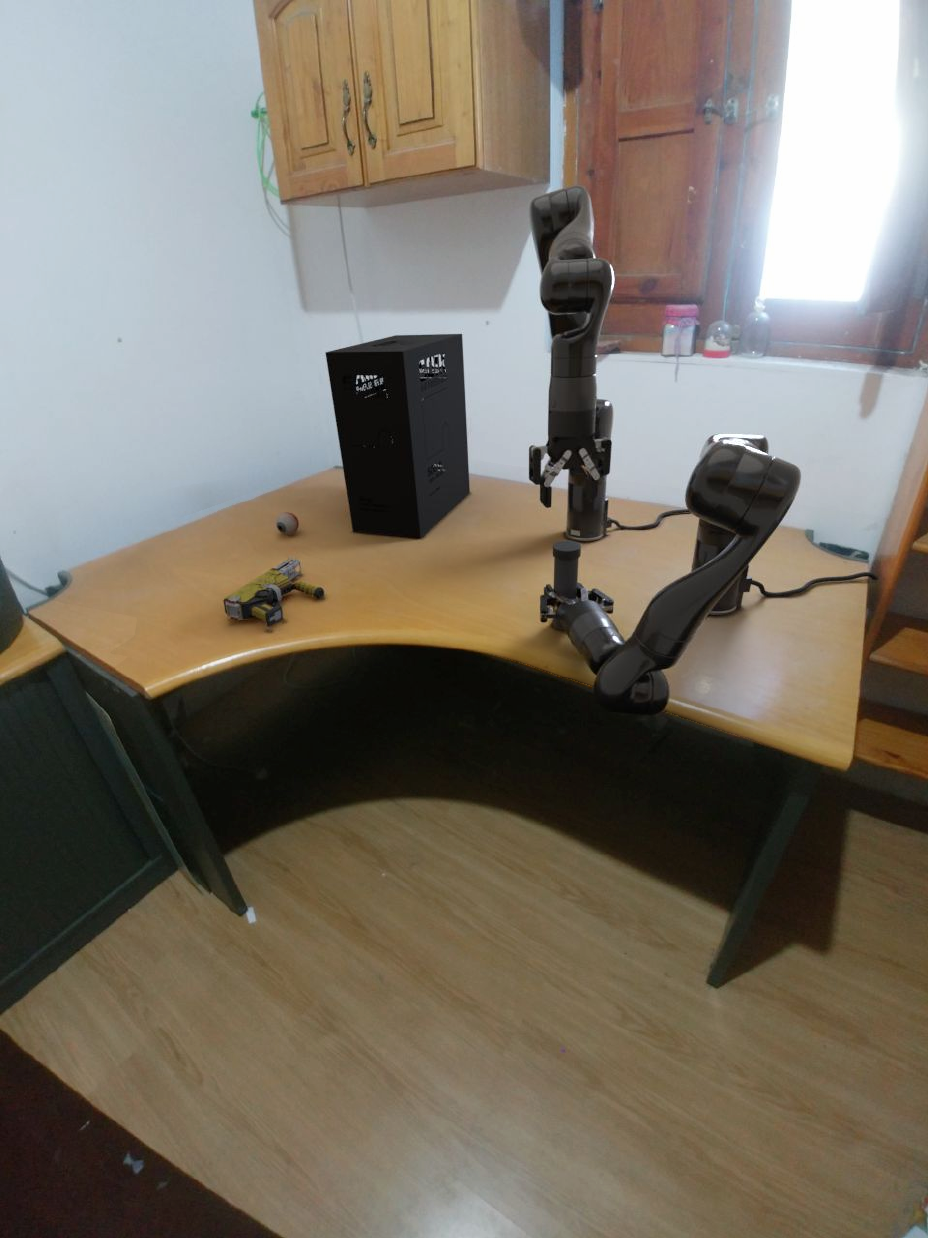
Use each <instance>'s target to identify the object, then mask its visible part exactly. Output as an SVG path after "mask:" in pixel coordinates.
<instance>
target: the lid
mask: <svg viewBox="0 0 928 1238" xmlns="http://www.w3.org/2000/svg"><path fill="white" fill-rule="evenodd" d="M581 556H582V545H581V543H580V542H579V541H576V540H572V539H563V540H558V541H555V542H553V544H552V557H553V558H554V557H555V558H556V559H559V560H574V559H577V558H580V557H581Z"/></svg>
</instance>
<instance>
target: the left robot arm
mask: <svg viewBox="0 0 928 1238" xmlns="http://www.w3.org/2000/svg"><path fill="white" fill-rule="evenodd" d="M528 214H529V215H528V217H529V225H530V231H531V236H532V237H531V238H532V241H533V245H534V250H535V254H536V259H537V263H538V264H537V265H538V269H539V273H540V277H541V278H540V280H539V281H540V282H539V298H540V303H541V305H542V307H543V308H544V310H545V311H546V312H547V319H548V325H549V334H550V340H551V343H550V344H551V345H550V376H549V377H550V378H549V385H548V400H547V402H548V404H547V442H546V444H545V445H539V446H536V445H534V444H533V445H532V444H531V445H530V446H529V447H528V480H529V481H530V482H532V483H533V484H534V485H535V486H539V501H540V503H541V504H542V505H543V507H545V508H546V509H550V508H552V492H553V487H552V486H551V484H552V483H553V481H555V478H556V477H557V476H559V475H560V473H561V471H562V470H563V471H565V470H568V473H567V501H566V502H567V503H566V527H565V536H566V537H567V538H568V539H569V540H571V541H576V542H583V543H584V542H586V543H587V542H594V541H599V540H600V539H602V538H604V536H607V530H608V529H610V528H613V527H612V526H613V524H614V525H615V526H616V527H617V528H619V529H622V530H629V531H631V530H635V531H637V530H638V531H639V530H646V529H650V528H655V527H656V526H659V524H660V523H661V522H662V518H663V517H665V516H669V515H673V514H683V513H691V512H690V511H689V510H688V508H685V509H683V508H682V509H673V510H667V511H664V512H662V513H660V514H659V515H658V517H657V519H656V521H655V522H653V523H650V524H645V525H639V526H638V525H637V526H627V525H623V524H621V523H620V522H619V521H618V520H616V519H613V518H612V517H609V516H608V514H609V498H607V497H606V493H607V477H608V475H609V474H610V472H611V459H612V445H613V442H612V433H613V427H614V426H613V425H614V412H615V411H614V407H613V404H612V402H611V401H610V400H608V399H601V398H598V393H597V392H598V386H597V385H598V384H597V363H598V362H597V361H598V348H599V340H600V335H601V331H602V327H603V323H604V319H605V315H606V314H607V313H606V312H607V310H608V307H609V304H610V300H611V298H612V294H613V291H614V287H615V286H614V285H615V274H614V270H613V269H614V268H613V267H612V264H610V261H608V260H607V259H606V258H603V257H596V254H595V250H594V246H593V242H594V235H595V234H594V233H595V218H594V209H593V203H592V198H591V194H590V191H588V189H587V188H586V187H585V186H584V185H581V184H575V185H570V186H566V187H563V188H559V189H557V190H553V191H550V192H547V193H544V194H540V195H538V196H535V197H533V198H532V199H531V201H530V203H529V208H528ZM546 454H547V455H548V460H547V462H546V463H545V465H544V470H543V471H542V461H543V460H544V458H545V455H546Z"/></svg>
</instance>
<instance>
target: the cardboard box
mask: <svg viewBox="0 0 928 1238" xmlns="http://www.w3.org/2000/svg"><path fill="white" fill-rule="evenodd" d="M463 343H464V342H463V334H462V333H440V334H439V333H437V334H435V333H434V334H396V335H392V336H387V337H383V338H380V339H376V340H370V341H366V342H362V343H358V344H354V345H350V346H345V347H341V348H338V349H333V350H330V351H325V359H326V365H327V372H328V377H329V378H328V379H329V386H330V391H331V398H332V404H333V411H334V418H335V424H336V431H337V438H338V443H339V450H340V451H339V452H340V456H341V457H340V458H341V462H342V469H343V475H344V476H343V477H344V484H345V490H346V495H347V502H348V509H349V510H348V511H349V515H350V522H351V528H352V532H354V533H363V534H373V535H374V534H375V535H384V536H395V537H404V538H414V539H415V538H416V539H422V538H423V537H424V536H425V535H426V534H427V533H428V532H429V531H430V530H432V528H433V527H435V526H436V524H438V523H439V522H440V521H441V520H442V519H443V518H445V516H447V515H448V514H449V513H450V512H451V511H452V510H453V509H454V508H455V507H456V506H457V505H459V503H461V502H462V500H464V499H465V498H466V497H467V496H468V495H470V493H471V492H470V491H471V490H470V489H471V488H470V470H469V447H468V427H467V425H468V424H467V406H466V405H467V404H466V385H465V383H466V381H465V364H464V363H465V362H464V347H463V346H464V344H463ZM439 355H440V356H439ZM428 359H429V361H428ZM432 359H433V360H432ZM422 361H423V363H422ZM432 361H433V362H432ZM440 362H441V365H440ZM436 365H437V366H436ZM371 376H372V378H371ZM367 377H368V378H367ZM362 378H363V379H362Z"/></svg>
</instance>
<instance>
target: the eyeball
mask: <svg viewBox="0 0 928 1238" xmlns="http://www.w3.org/2000/svg"><path fill="white" fill-rule="evenodd" d="M299 525H300V522H299V519H298V517H297V516H296V515H295V514H294V513H292V512H287V511H286V512H282V513H280V514H279V515H278V516H277V517H276V520H275V527H276V529H277V530H278V531H279V532H280V533H281V534H282V535H285V536H286V535H287V536H289V535H293V534H295V533H296V532H297V531H298V529H299Z"/></svg>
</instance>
